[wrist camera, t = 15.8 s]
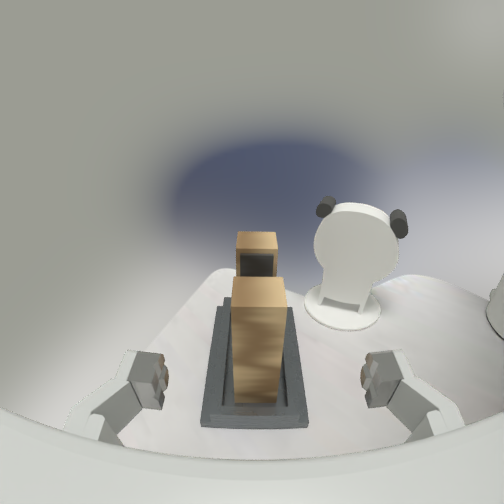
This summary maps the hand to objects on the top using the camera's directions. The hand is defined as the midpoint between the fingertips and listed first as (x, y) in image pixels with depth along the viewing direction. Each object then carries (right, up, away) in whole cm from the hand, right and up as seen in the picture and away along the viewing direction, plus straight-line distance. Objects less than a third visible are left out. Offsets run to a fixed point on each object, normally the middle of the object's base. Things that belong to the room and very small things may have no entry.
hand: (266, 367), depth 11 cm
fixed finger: (0, -5, +26) cm, 26 cm away
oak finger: (0, -9, +18) cm, 20 cm away
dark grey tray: (0, -8, +22) cm, 23 cm away
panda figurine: (+13, -3, +31) cm, 34 cm away
